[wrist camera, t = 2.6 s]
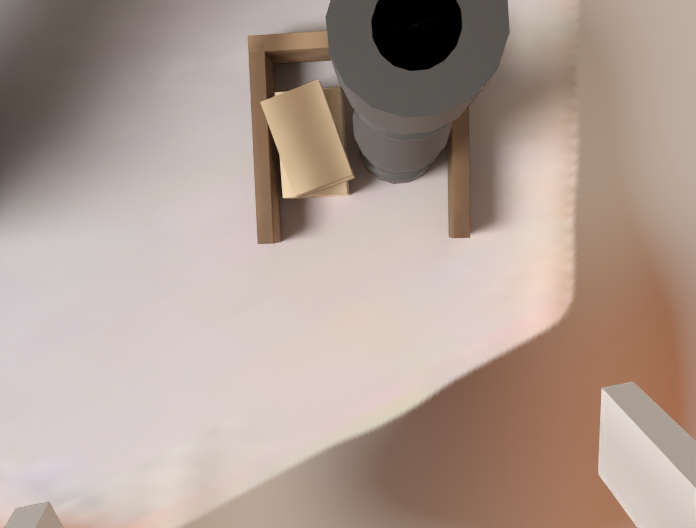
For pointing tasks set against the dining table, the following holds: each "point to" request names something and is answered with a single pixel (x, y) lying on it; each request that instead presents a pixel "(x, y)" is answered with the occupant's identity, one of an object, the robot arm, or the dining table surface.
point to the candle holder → (412, 73)
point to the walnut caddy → (265, 151)
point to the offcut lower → (337, 110)
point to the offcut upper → (307, 139)
